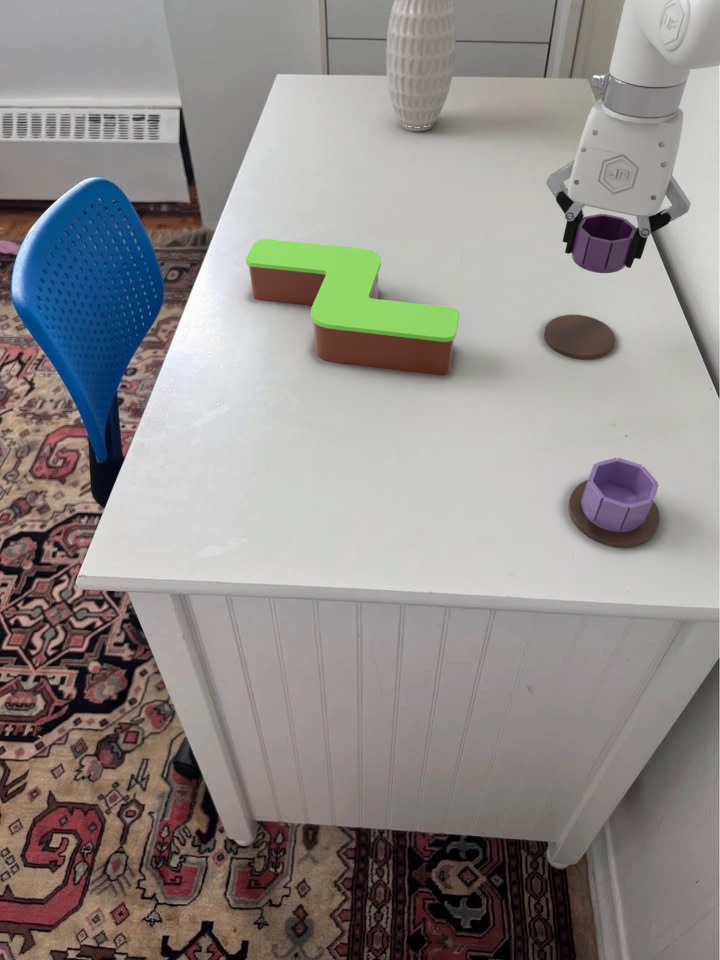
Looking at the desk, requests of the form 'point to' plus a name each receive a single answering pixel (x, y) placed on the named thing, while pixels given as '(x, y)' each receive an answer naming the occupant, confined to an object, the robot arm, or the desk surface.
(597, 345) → the coaster far
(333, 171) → the desk surface
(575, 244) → the dish plum
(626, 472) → the dish lilac
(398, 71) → the vase
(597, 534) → the coaster near
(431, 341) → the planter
